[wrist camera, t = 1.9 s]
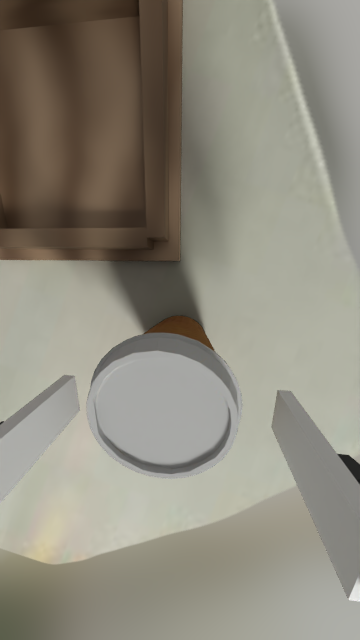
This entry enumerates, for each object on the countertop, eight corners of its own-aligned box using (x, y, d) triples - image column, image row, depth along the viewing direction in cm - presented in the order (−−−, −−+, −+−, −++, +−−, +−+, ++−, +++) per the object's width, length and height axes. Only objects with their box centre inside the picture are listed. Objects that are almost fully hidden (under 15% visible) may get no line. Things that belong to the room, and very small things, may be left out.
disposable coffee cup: (162, 285, 21) (118, 306, 9) (237, 328, 21) (285, 401, 10) (126, 353, 23) (56, 438, 12) (193, 390, 24) (190, 506, 12)
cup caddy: (3, 259, 21) (-35, 258, 18) (-52, 13, 16) (-123, -59, 13) (180, 260, 20) (176, 259, 16) (182, -14, 14) (178, -106, 11)
